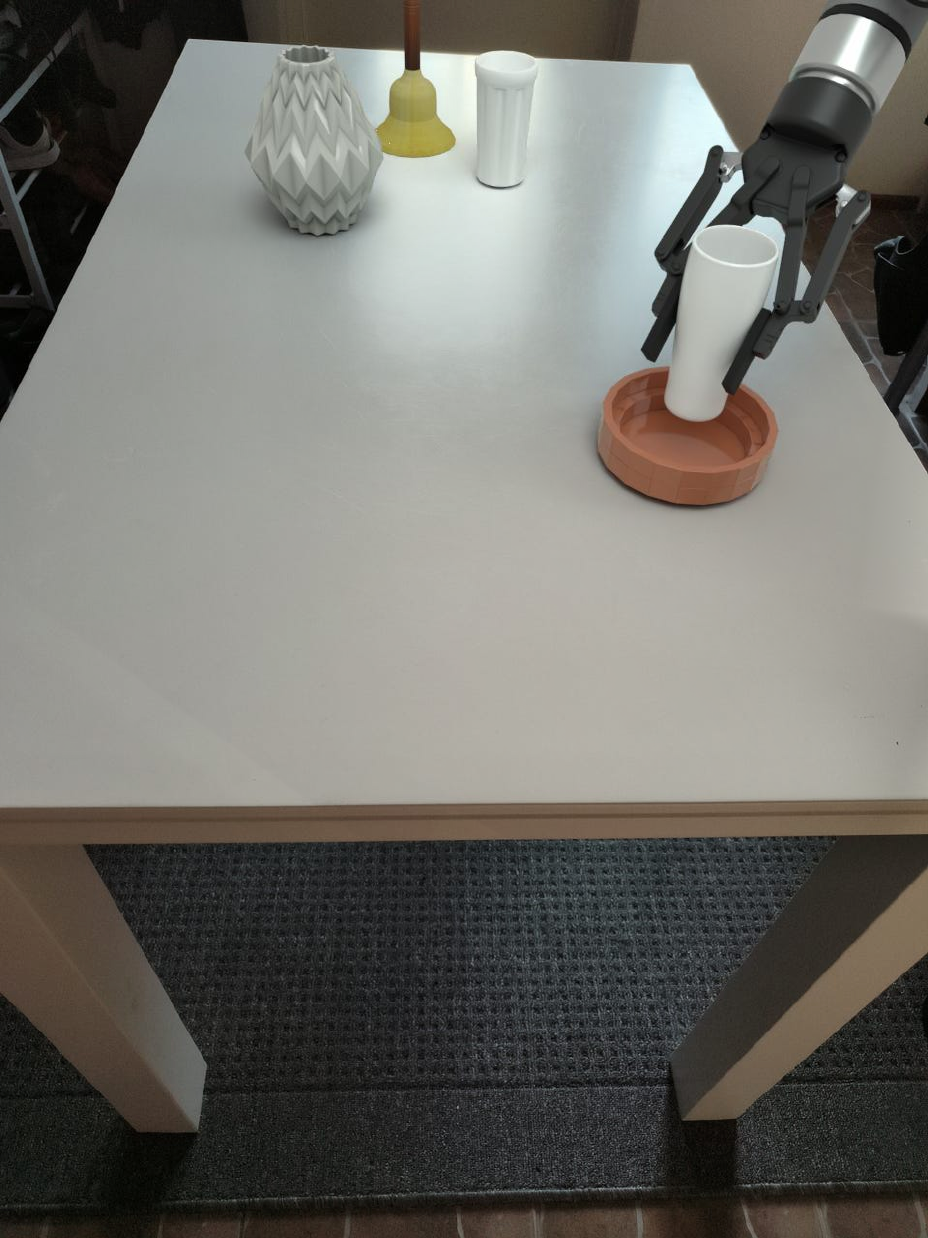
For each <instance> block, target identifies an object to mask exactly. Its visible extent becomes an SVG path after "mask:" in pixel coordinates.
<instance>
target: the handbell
mask: <svg viewBox="0 0 928 1238" xmlns="http://www.w3.org/2000/svg"><path fill="white" fill-rule="evenodd" d="M401 1H402V8H403V45H404V46H403V51H404V69H403V73H402V75H401V76H400V77H398V78H397V79H395V80H394V81H393V83H392V84H391V85H390V88H389V95H388V96H389V97H388V109H389V112H388V114H387V116H386V118H385V119H384V121H383V122H382V123H380V124H379V125H377V127H378V128H377V127H376V128H374V129H375V131H376V130H377V131H376V132H377V134H378V136H379V138H380V140H381V142H382V148H381V151H382V153H383V152H384V153H386V154H388V155H393V156H397V157H402V158H403V157H405V158H426V157H427V158H428V157H432V156H437V155H441V154H443V153H446V152H447V151H450V150H451V149H452V148H453V147H454V146H455V145H456V141H457V139H456V137H455V134H454V132H453V131H452V129H451V128H449V127H448V126H447V124H445V123H444V122H443V121H442V120H441V118H440V116H439V115H438V110H437V109H438V108H437V107H438V106H437V105H438V100H437V90H436V88H435V86H434V84H433V82H432V81H430V80H429V79H428V78H426V77H425V76H424V75H423V73H422V69H421V2H422V0H401ZM389 143H390V144H389Z"/></svg>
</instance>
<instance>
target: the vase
mask: <svg viewBox="0 0 928 1238" xmlns="http://www.w3.org/2000/svg"><path fill="white" fill-rule="evenodd" d="M257 115H258V116H257V117H256V119H255V120H254V122H253V125H252V128H251V130H250V134H249V136H248V140H247V142H246V145H245V148H244V155H245V156H246V158H247V160H248V162H249V165H250V168H251V169H252V171H253V173H254V175H255V176H256V178H257V179H258V181H259V182H260V183H261V185H262V187H263V189H264V191H265V194H266V195H267V197H268V199H269V201H270V202H271V204H272V206H273V207H274V209H276V210H279V212H280V213H281V214H282V215H283V217H285V220H286V221H287V222H288V223H287V224H288V226H289V228H292V229H298V231H299V232H300V234H307V233H311V234H313V235H315V236H316V237H318V236H321V235H323V234H329V235H336V234H337V233H338V232H339V231H349V228H350V225H352V224H356V222H357V217H358V213H360V212H361V210H362V209H363V207H364V205H365V203H366V201H367V199H368V197H369V196H370V194H371V192H372V189H373V186H374V183H375V178H376V176H377V172H378V170H379V169H380V166H381V164H382V163H383V160H384V155H383V151H381V148H382V142H381V140H380V138H379V136H378V134H377V132H376V131H375V129H376V128H375V127H374V125H372V123H371V122H370V120H369V119H368V117H367V116H366V114H365V111H364V108H363V106H362V103H361V101H360V98H359V95H358V92H357V90H356V89H355V88H354V86H352V83H351V82H350V81H349V79H348V78H347V77H346V74H345V71H344V68H342V67H341V65H340V63H339V62H338V61H337V57H336V53H335V52H334V51H330V49H329V48H328V47H324V48H323V47H322V48H320V47H319V46H318V44H316V45H312V46H308V45H306V44H302V45H300V46H298V47H297V46H292V45H291V46H290V47H289V48H288V49H281V50H280V53H277V55H276V63H275V64H274V65H273V67H272V70H271V75H270V77H269V79H268V80H267V83H266V84H265V85H264V87H263V91H262V96H261V101H260V106H259V110H258V114H257Z"/></svg>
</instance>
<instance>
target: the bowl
mask: <svg viewBox="0 0 928 1238" xmlns="http://www.w3.org/2000/svg"><path fill="white" fill-rule="evenodd" d="M669 368H670V365H664V366H656V367H648V368H643V369H640V370H638V371H635V372H633V373H630V374H628V375H624V376H623V377H622V378H620V379H619V380H618V381H617V382H615V383H614V384H612V386H610V388H609V390H608V392H607V393H606V396H605V397H604V400H603V401H602V406H601V411H600V417H599V418H600V419H599V423H598V430H597V452H598V453H599V455H600V457H601V459H602V461H603V463H604V464H605V467H606V468H607V469H608V470H609V471H610V472H611V473H612V474H614V475H615V476H616V477H617V478H618V479H619V480H620V481H621V482H622V483H623V484H624V485H626V486H628V487H631V488H632V489H634V490H636V491H638V492H640V493H642V494H644V495H646V496H648V497H651V498H655V499H658V500H662V501H665V502H669V503H673V504H680V505H681V504H682V505H695V506H706V505H707V506H708V505H713V504H720V503H725V502H726V503H727V502H730V501H733V500H735V499H737V498H739V497H742V496H743V495H746V494H748V493H750V492H751V491H752V490H753V489H754V488H755V487H756V486H757V485H758V484H759V483H760V481H762V479H764V475H765V473H766V471H767V467H768V464H769V462H770V459H771V458H772V457H771V456H772V454H773V451H774V448H775V446H776V442H777V439H778V435H779V426H778V422H777V418H776V415H775V412H774V411H773V409H772V408H771V407H770V406H769V404H768V403H767V402H766V400H765V399H764V398H763V397H762V396H761V395H760V394H758V393H757V392H755V391H754V390H753V389H751V388H750V387H749V386H747V385H746V384H744V383H742V382H741V384H740V386H739V388H738V389H737V391H736V393H735V395H734V396H733V395H731V394H728V397H727V400H726V403H725V406H724V409H723V411H722V412H721V413H720V415H718V416H717V417H716V418H714V419H712V420H709V421H704V422H693V421H687V420H684V419H681V418H679V417H677V416H675V415H674V414H672V413H671V412H670V411H669V410H668V408H667V407H666V405H665V402H664V394H665V390H666V385H667V381H668V375H669Z"/></svg>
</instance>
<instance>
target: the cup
mask: <svg viewBox="0 0 928 1238" xmlns="http://www.w3.org/2000/svg"><path fill="white" fill-rule="evenodd" d="M539 67H540V63H539V61H538V59H536V58H535V57H534V56H532V55H531V54H527V53H525V52H520V51H515V50H493V51H491V50H490V51H487V52H483V53H481V54H479V55H478V56H476V57H475V60H474V76H475V78H476V178H477V179H478V180H479V182H481V183H483V184H485V185H487V186H492V187H500V188H504V187H505V188H506V187H507V188H508V187H513V186H516V185H518V184H521V182H522V181H523V180H524V170H525V163H526V154H527V146H528V138H529V130H530V121H531V112H532V105H533V97H534V90H535V82H536V80H537V78H538V74H539Z"/></svg>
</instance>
